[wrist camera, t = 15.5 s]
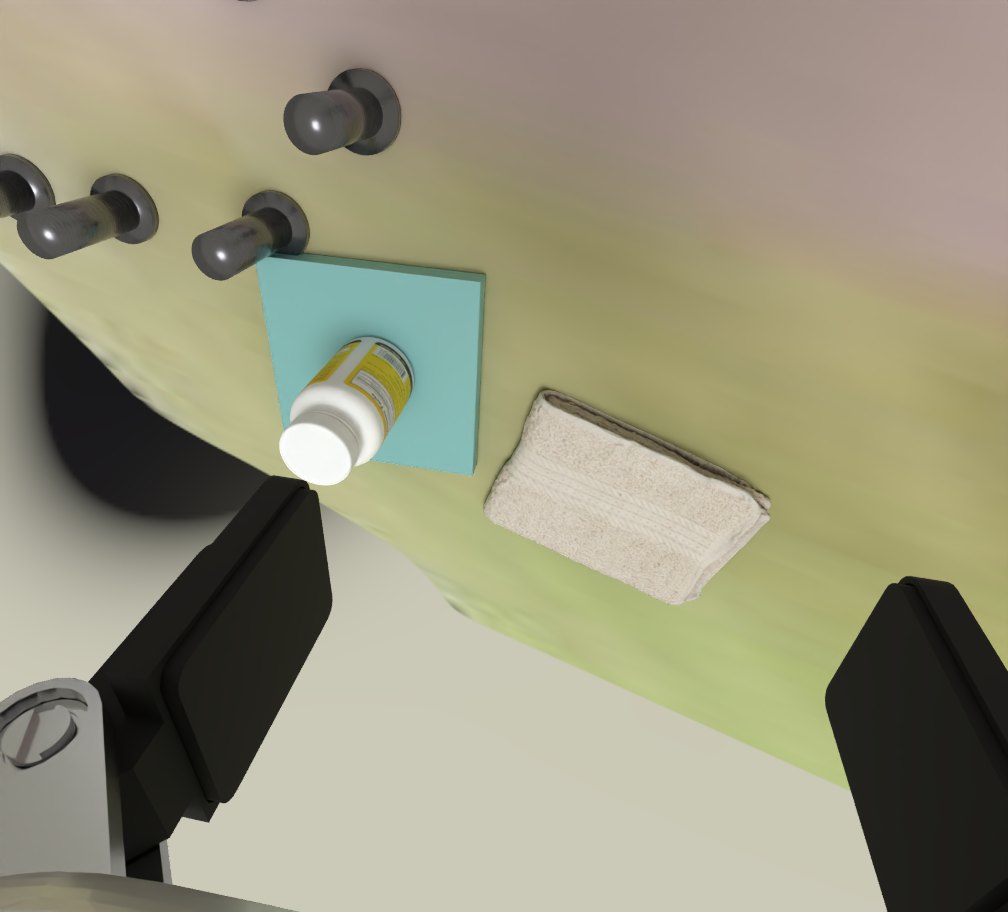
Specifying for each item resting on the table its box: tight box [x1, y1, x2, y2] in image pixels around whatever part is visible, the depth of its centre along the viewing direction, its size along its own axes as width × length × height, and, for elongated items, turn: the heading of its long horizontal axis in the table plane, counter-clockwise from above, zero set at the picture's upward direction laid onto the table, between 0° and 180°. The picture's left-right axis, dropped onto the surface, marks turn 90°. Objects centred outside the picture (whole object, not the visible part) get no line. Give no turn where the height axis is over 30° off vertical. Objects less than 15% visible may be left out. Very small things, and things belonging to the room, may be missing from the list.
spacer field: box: [0, 0, 401, 281], centre depth 31 cm, size 17×27×7 cm, turn 86°
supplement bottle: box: [279, 337, 414, 485], centre depth 36 cm, size 5×5×10 cm
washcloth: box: [483, 390, 771, 605], centre depth 43 cm, size 12×18×3 cm, turn 68°
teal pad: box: [256, 253, 485, 476], centre depth 40 cm, size 14×14×2 cm
